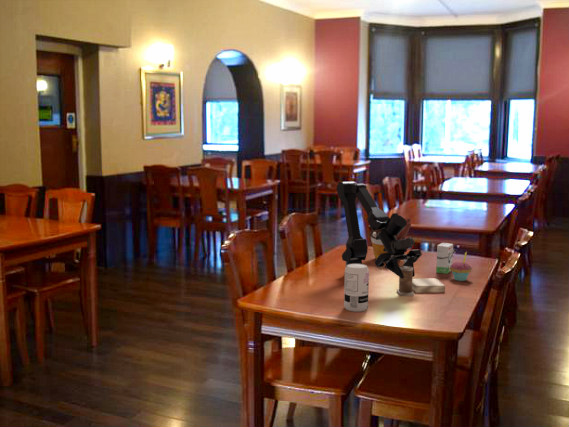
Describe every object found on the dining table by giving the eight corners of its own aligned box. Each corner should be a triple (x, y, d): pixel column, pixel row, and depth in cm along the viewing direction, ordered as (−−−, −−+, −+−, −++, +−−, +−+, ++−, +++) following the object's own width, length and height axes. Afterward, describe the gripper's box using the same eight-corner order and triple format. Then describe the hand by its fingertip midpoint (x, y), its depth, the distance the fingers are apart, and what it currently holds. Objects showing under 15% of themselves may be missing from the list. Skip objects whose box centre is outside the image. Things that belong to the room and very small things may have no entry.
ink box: (447, 274, 267) (448, 246, 266) (435, 272, 270) (436, 245, 268) (452, 270, 275) (453, 243, 273) (441, 268, 277) (442, 242, 276)
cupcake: (471, 278, 261) (473, 249, 260) (470, 282, 253) (471, 253, 252) (450, 276, 264) (451, 247, 262) (448, 280, 256) (449, 251, 254)
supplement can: (341, 305, 221) (342, 263, 219) (365, 305, 222) (366, 263, 220) (346, 312, 213) (347, 268, 211) (370, 312, 214) (371, 268, 212)
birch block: (416, 293, 239) (416, 285, 238) (408, 286, 250) (408, 278, 249) (444, 293, 240) (445, 285, 239) (435, 285, 250) (435, 278, 250)
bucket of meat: (364, 261, 291) (365, 218, 288) (370, 254, 307) (372, 213, 304) (408, 264, 285) (409, 220, 282) (412, 257, 300) (414, 215, 297)
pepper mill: (400, 295, 234) (401, 269, 233) (396, 291, 239) (397, 265, 238) (414, 295, 235) (415, 268, 233) (410, 291, 240) (411, 265, 238)
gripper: (380, 232, 232) (398, 267, 224) (419, 228, 241) (438, 262, 234) (367, 249, 240) (384, 284, 232) (405, 245, 249) (423, 278, 241)
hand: (408, 277), depth 235 cm, fingers closed on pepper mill, 5 cm apart
